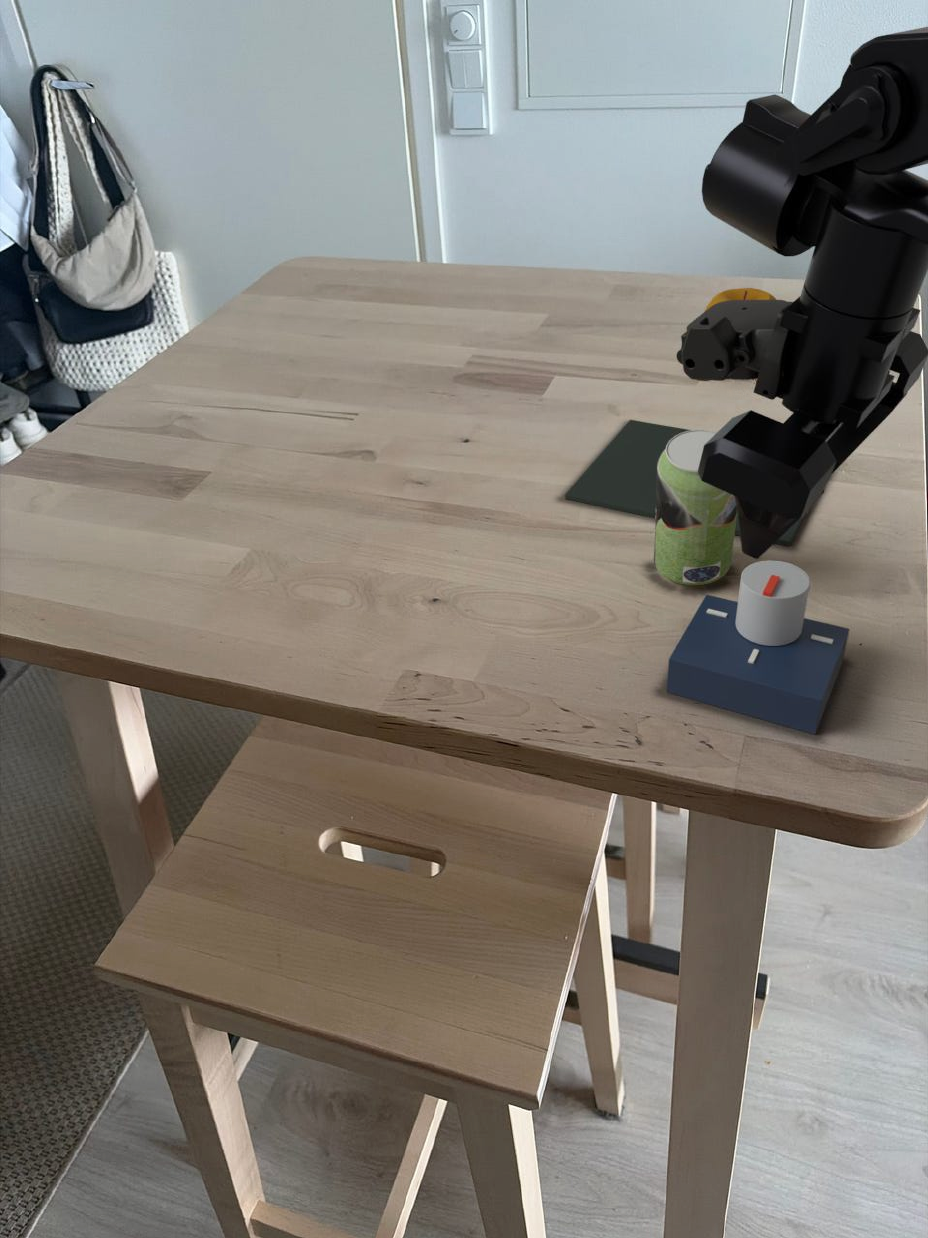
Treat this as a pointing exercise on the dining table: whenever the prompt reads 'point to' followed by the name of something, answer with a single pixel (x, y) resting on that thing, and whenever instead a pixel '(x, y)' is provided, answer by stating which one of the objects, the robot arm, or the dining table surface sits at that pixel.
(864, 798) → the dining table surface
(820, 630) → the rotary dial base
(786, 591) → the grey rotary knob
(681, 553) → the beverage can
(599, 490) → the drip mat
